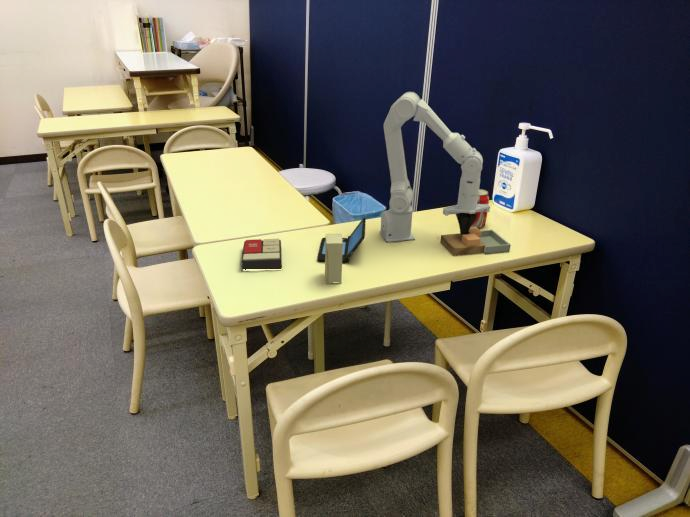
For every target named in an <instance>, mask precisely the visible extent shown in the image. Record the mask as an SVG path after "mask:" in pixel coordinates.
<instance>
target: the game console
mask: <svg viewBox="0 0 690 517" xmlns="http://www.w3.org/2000/svg"><path fill="white" fill-rule="evenodd" d="M366 221H367V219H366V217H365V216H364V217H363V218H361V220H360V222H359V223H357V226H356V227H355V228H354V230H353V231H352V233H351V234H350V235H348V236H347V237H342V241H343V252H342V264H346V263H348V264H350V258H351V257H352V255H353V254H354V253H355V252H356V250H357V249H358V248H359V246H360V245H361V244H362V242H363V241H364V239H365V236H366V223H367V222H366ZM320 240H321V241H320V245H319V249H318V254H317V258H316V259H317V262H318V263H321V262H325V237H322V238H321V239H320Z"/></svg>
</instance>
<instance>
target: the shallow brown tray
mask: <svg viewBox="0 0 690 517" xmlns="http://www.w3.org/2000/svg"><path fill="white" fill-rule="evenodd" d="M439 239H440V241H439V242H440V244H441V245H442V246H443V247H444V248H445V249H446V250H447V251H448V252H449V253H450V254H451V255H452V256H453V257H458V255H460V256H468V254H469V255H477V254H485V253H484V250H485V245H484V244H483V243H482V242H481V241H480V245H474V246H467V245H466V244H464V243H463V242H462V235H461V234H460V232H459V233H450V234H441V235H440V238H439Z"/></svg>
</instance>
